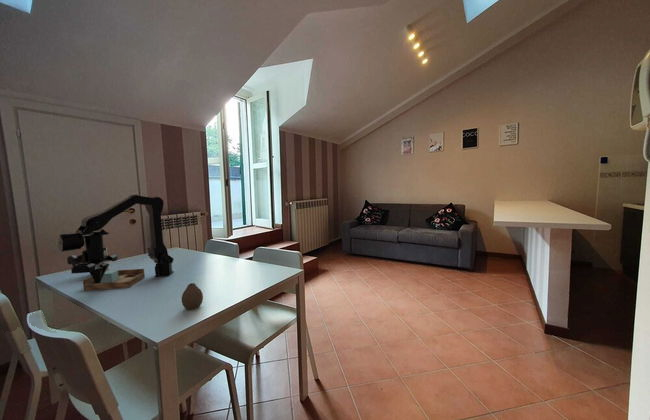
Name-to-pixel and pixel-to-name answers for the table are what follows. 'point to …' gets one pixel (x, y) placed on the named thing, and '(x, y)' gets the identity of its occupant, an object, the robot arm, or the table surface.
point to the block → (109, 276)
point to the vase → (192, 297)
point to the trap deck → (124, 280)
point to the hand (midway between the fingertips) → (98, 283)
